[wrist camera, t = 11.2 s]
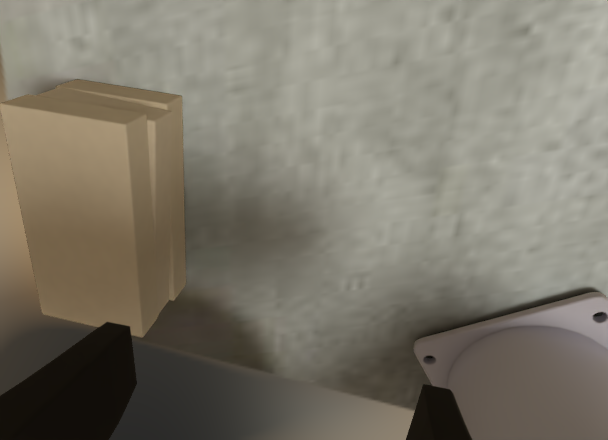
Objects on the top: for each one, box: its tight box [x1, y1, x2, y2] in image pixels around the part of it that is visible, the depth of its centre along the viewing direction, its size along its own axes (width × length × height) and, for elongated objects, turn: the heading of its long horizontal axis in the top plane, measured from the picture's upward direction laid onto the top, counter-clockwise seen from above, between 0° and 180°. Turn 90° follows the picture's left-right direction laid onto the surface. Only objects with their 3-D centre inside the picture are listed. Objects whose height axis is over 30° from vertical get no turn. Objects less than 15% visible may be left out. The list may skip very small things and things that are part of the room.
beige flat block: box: [56, 79, 186, 301], centre depth 21 cm, size 9×5×1 cm, turn 174°
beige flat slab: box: [0, 94, 158, 337], centre depth 18 cm, size 9×5×1 cm, turn 174°
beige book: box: [36, 87, 172, 314], centre depth 20 cm, size 9×5×1 cm, turn 171°
